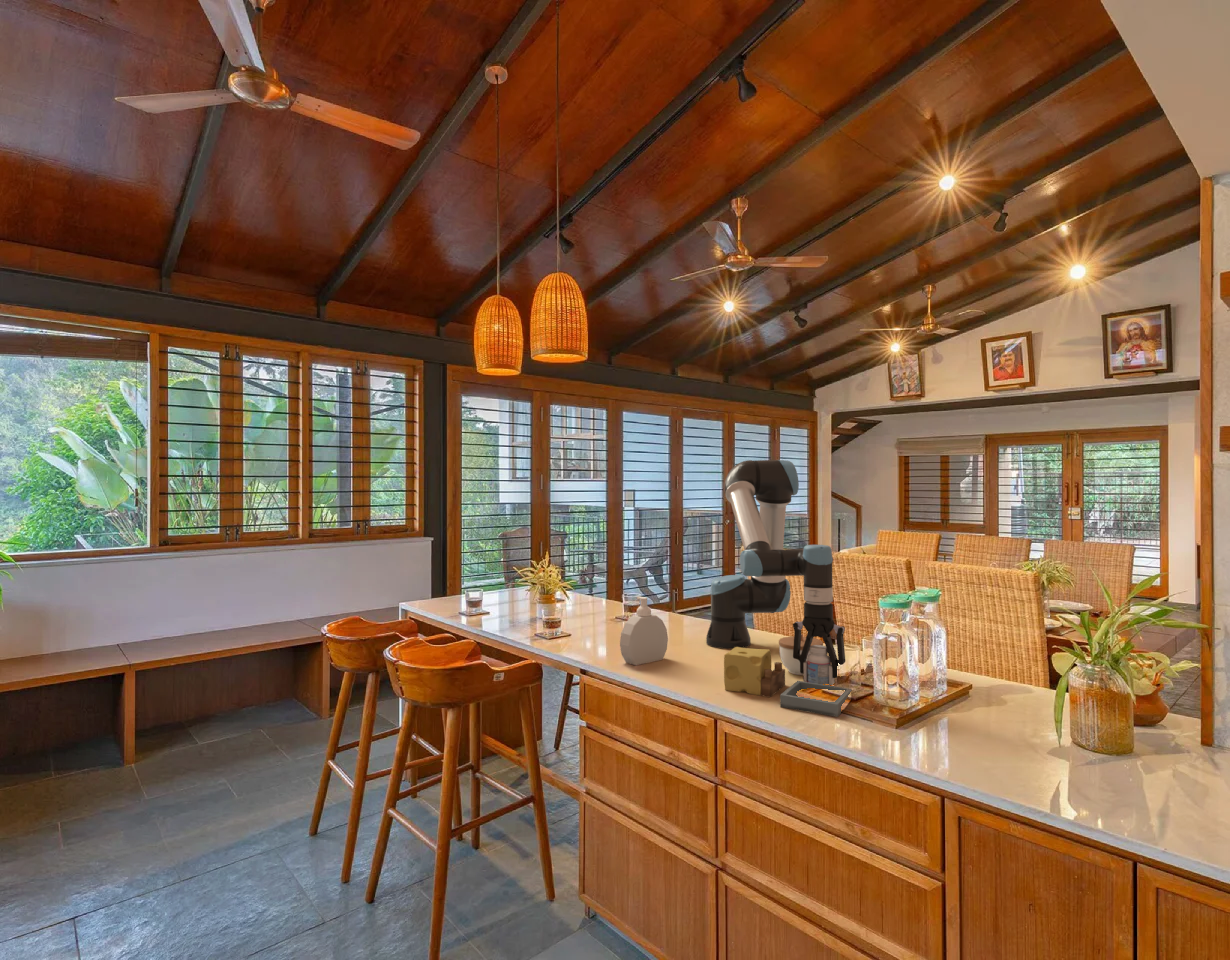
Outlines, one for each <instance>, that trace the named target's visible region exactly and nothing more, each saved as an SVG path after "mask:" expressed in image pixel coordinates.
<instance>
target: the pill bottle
mask: <svg viewBox="0 0 1230 960" xmlns="http://www.w3.org/2000/svg"><path fill="white" fill-rule="evenodd" d="M810 652H811V654H810V655H809V656H808V660H807V663H808V666H807V667H808V682H810V683H817V684H824V685H825V684H829V666H830V665H831V661H830V657H829V654H828V651H827V648H826V645H823V646H822V645H812V646H810Z"/></svg>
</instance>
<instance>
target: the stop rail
mask: <svg viewBox="0 0 1230 960" xmlns="http://www.w3.org/2000/svg"><path fill="white" fill-rule="evenodd" d="M785 686H786V669H785V668H783V663H782V661H781V662H780V661H776V662H774V669H773V670H772V668H771V669H764V677H763V678H762V679H761V695H760V696H762V697H767V698H770V697H772V696H774V695H775V694H776V693H777V692H779V690H781V689H782V688H783V687H785Z"/></svg>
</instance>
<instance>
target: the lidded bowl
mask: <svg viewBox="0 0 1230 960" xmlns="http://www.w3.org/2000/svg"><path fill="white" fill-rule="evenodd" d="M805 640H806V636H804V634H802V633H801V647H800V654H801V653H802V650H803V647H804V644H805ZM778 645H779V647H778V648H779V656H780V660H781V663H782V666H784V668H786V669H787V670H788V672H789V674H792V675H797V676H804V674H803V673H801V672H800V661H799V660H798V659H794V658H793V648H794V635H792V636H784V637H781V638H780V639H779V640H778ZM812 645H822V646H824V641H822V640H821V639H819V638H816V637H814V638H813V640H812V643H811V646H812ZM810 654H811V652H810V649H809V652H808V655H807V659H806V661H807V660H808V656H809V655H810Z"/></svg>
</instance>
